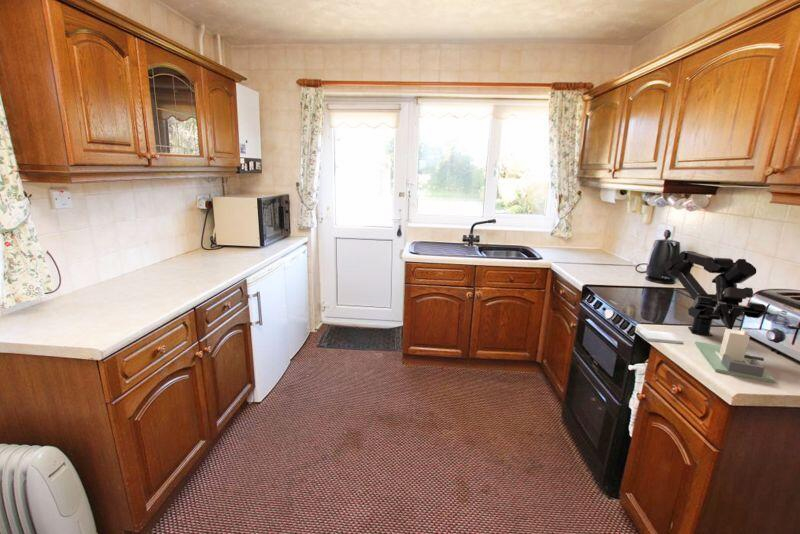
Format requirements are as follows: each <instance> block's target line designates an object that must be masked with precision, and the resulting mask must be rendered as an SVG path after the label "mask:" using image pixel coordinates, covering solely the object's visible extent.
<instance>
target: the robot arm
mask: <svg viewBox="0 0 800 534" xmlns="http://www.w3.org/2000/svg"><path fill="white" fill-rule="evenodd" d="M694 264H695V265H697V266H700V267H703V270H704V271H706V272H708V273H709V274H718V275H716V276H714V278H713V279H712V280H711V283H714V284H715V294H713V293H708V292H707V291H706V290H705V289H704V287H703V286H702V285H700V283H699V281H698V280H697V279H696V278H695V276H694V275H693V274H692V273H691V271H692V269H693V267H694ZM664 270H665V272H666V273H667V274H668V275H669V276H671V277H673V278H676V279H677V280H678V281H679V282H680V284H681V286H682V287H684V289H685V290H686V292H687V293H688V295H689V296H690V297H691V298H692V299H693V302H692V306H690V307H689V308H687V309H688V311H687V313H688V315H689V316H690V317H692V318H693V319H692V323H691V326H688V327H687V328H688V330H689V331H690V332H691V333H692V334H696V335H703V336H706V337H707V336H709V337H713V336H714V334H712V332H711V328H712V325H713V321H714V320H715V321H716V320H717V321H721V322H722V323H723V325H724V326H725V327H726V329H732V330H733V328H734V325H735V324H736V323H735V322H736V320H737V318H740V316H741V315H744V316H745V317H746V318H752V319H759V318H762V316H763V315H764V314H766V313H767V311H768V308H767V306H766V305H765V304H763V303H758V302H757V303H755V302H750V303H748V305H742V302H743V300H746V299H750V298H753V297H754V290H753V287H744V288H739V287H738V285H737V284H742V283H744V282H745V281H747V280H749V279H750V278H752V277H754V276H755V275H756V273H757V268H756V267H755V266H754V265H753V264H752V263H750V262H748V261H747V259H746V258H738V259H737V260H736V261H735V262H734V260H733V259H732V258H727V257H713V256H709V255H705V254H702V253H698V252H696V251H694V250H693V251H692V250H691V251H690V250H689V251H688V250H683V251H681V252H680V253H679V254H677V255H675V256H672V257H670V258H669V259H668V260H667V261H666V262H665V263H664Z"/></svg>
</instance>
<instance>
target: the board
mask: <svg viewBox="0 0 800 534" xmlns="http://www.w3.org/2000/svg"><path fill="white" fill-rule="evenodd" d="M695 344H696V345H695ZM694 345H695V347H697V349H698V350H699V352H700V353H701V354H702V356H703V357H704V359H705V360H706V361H707V362H708V364H709V365H710V367H712V369H713V371H715V373H721V374H726V375H732V376H737V377H742V378H748V379H752V380H753V379H754V380H758V381H764V382H769V383H775V381H776V379H775V378H774V377H773V376H772V375H771V374H770V373H769V372H768V371H767V370H766V369H765V368H764V372H763V375H762V377H758V376H753V375H748V374H742V373H737V372H731V371H728V370H727V369H726V368H725V366H724V365H723V364H722V363H721V362H722V358H723V357H722V356H721V355H720V354H719V352H720V349H721V345H719V344H714V343H707V342H701V341H695V342H694ZM745 355H749V356H752V355H751V354H750V353H749V352H748V351H747V350H746V352H745ZM733 361H734V360H733ZM735 362H740V361H735ZM740 363H746V364H750V363H751V359H748V358H744V360H743V362H740Z"/></svg>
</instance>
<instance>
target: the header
mask: <svg viewBox="0 0 800 534" xmlns="http://www.w3.org/2000/svg"><path fill="white" fill-rule="evenodd" d="M721 363H722V364H723V365H724V366H725V368H726V369H727V370H728V371H731V372H737V373H742V374H748V375H753V376H758V377H762V375H763V372H764V369H765V367H764V366H763V365H762V364H761V363H760V362H759V360H756V359H751V363H750V364H746V363H740V362H735V361H733V360H732V359H731V358H730V357H729V356H728V355H727V354H723V358H722V362H721Z"/></svg>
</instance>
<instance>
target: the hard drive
mask: <svg viewBox="0 0 800 534" xmlns="http://www.w3.org/2000/svg"><path fill="white" fill-rule="evenodd" d="M635 332H636V333H637V334H638V335H639V336H640V337H641V338H642V339H643V340H644V341H646V342H647V341H648V342H656V343H657V342H658V343H669V344H678V343H683V344H684V340H682V339H681V338H679V336H677V335H676V334H675V333H673V332H668V331H667V332H666V331H656V330H645V329H636V331H635Z"/></svg>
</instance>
